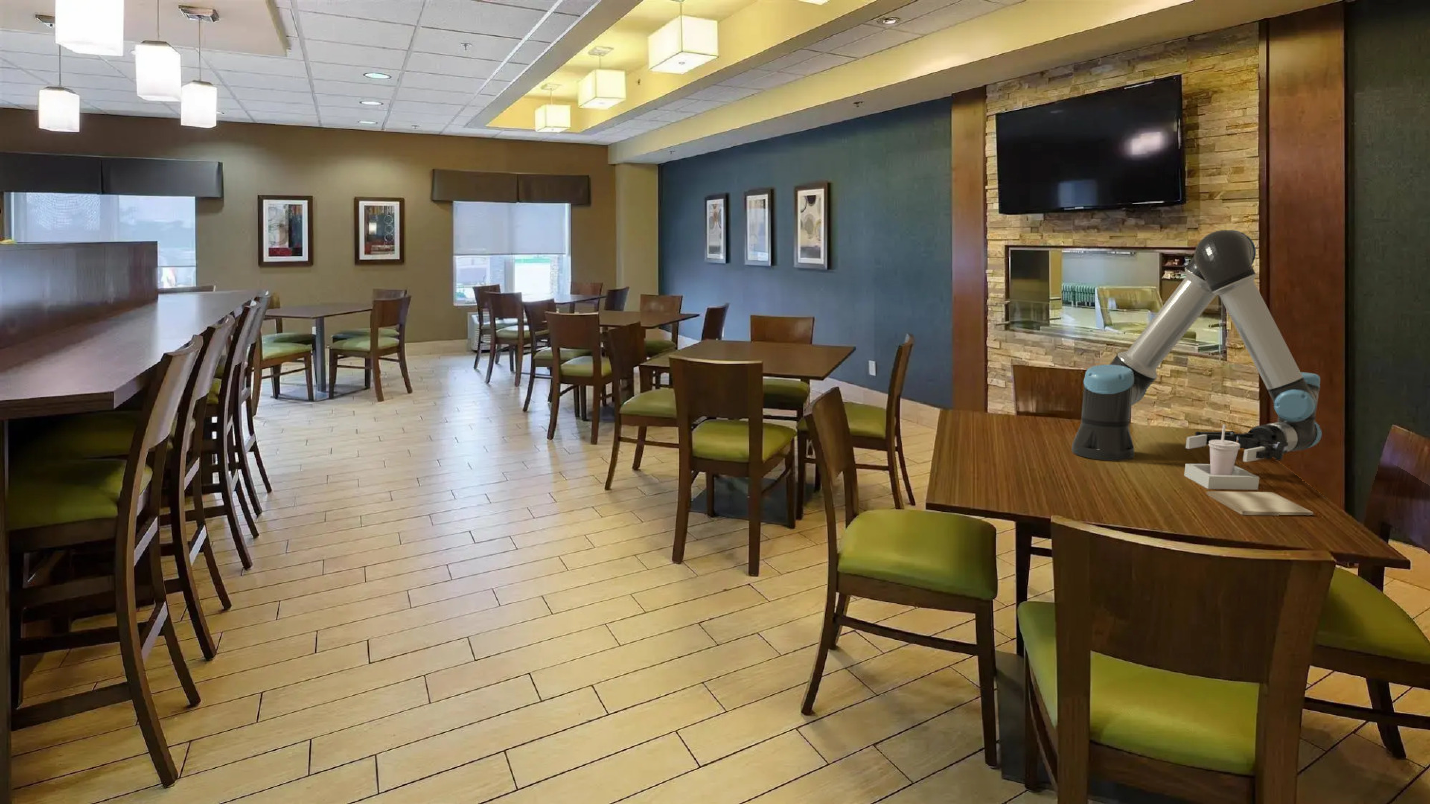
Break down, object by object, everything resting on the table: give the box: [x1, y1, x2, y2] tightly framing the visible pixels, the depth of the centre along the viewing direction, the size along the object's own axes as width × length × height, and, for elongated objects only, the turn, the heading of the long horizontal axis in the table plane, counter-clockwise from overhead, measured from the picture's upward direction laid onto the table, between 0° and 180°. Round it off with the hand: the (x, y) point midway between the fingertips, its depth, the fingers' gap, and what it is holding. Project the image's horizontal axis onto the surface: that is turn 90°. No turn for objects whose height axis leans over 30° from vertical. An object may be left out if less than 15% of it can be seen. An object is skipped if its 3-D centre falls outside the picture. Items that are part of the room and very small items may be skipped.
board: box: [1206, 490, 1314, 516], centre depth 175 cm, size 14×14×1 cm
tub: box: [1183, 463, 1260, 491], centre depth 191 cm, size 11×11×3 cm
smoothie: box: [1208, 424, 1241, 476], centre depth 190 cm, size 6×6×14 cm
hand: (1215, 449), depth 189 cm, fingers open, 13 cm apart
